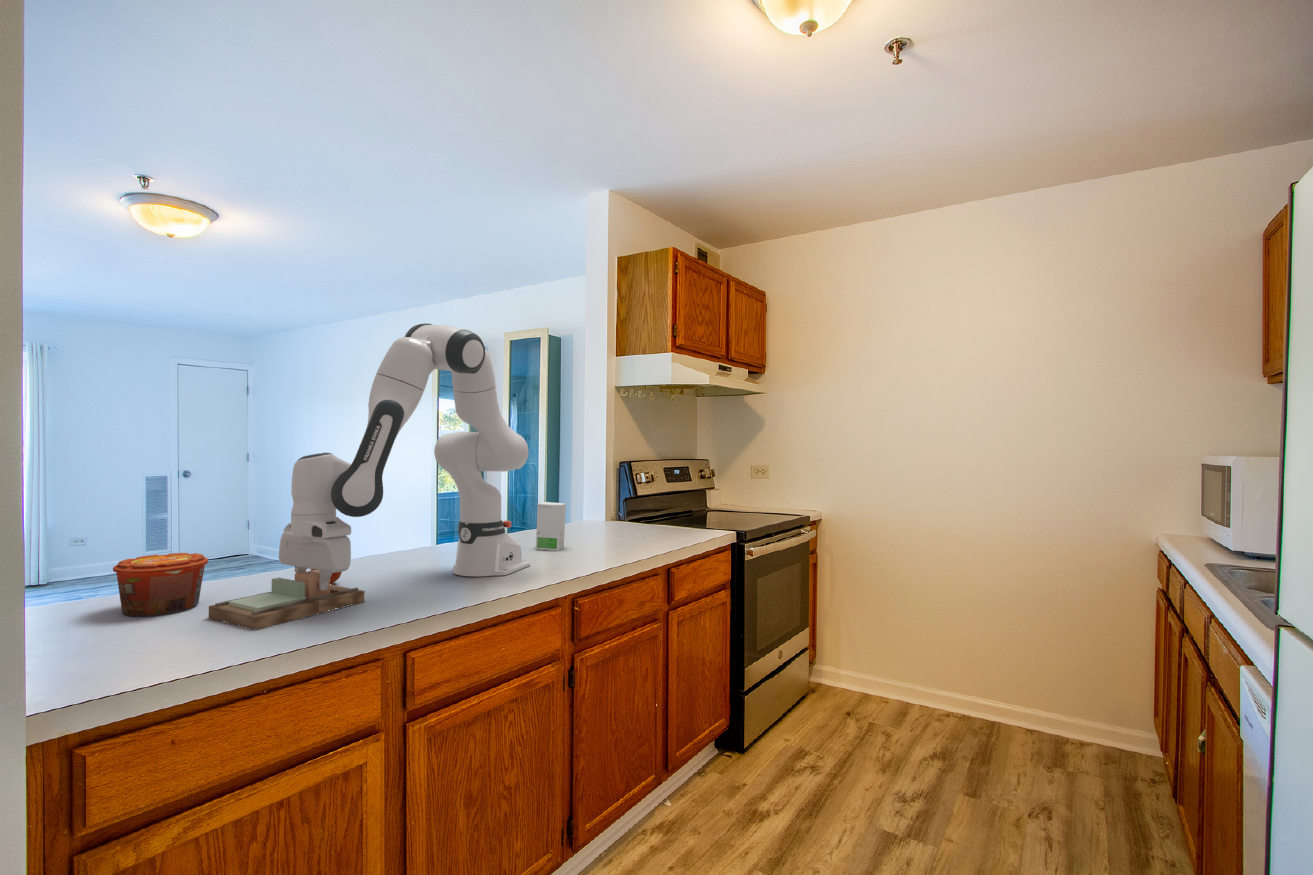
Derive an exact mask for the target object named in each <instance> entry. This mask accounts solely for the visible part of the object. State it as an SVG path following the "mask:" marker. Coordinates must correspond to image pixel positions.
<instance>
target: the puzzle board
mask: <svg viewBox="0 0 1313 875" xmlns="http://www.w3.org/2000/svg"><path fill="white" fill-rule="evenodd" d="M270 592H271V591H269V592H263V593H259V594H253V595H249V596H245V597H240V598H235V599H229V600H224V601H221V602H215V603H214V604H212V605H208V619H209V618H210V619H209V620H213V621H218V622H221V621H225V622H228V623H227V624H229V623H230V624H229V625H233V624H234V625H233V626H237V625H240V626H243V627H242V628H244V627H247V628H246V629H248V628H250V629H249V630H252V629H258V630H261V628H262V629H265V627H266V628H269V627H268V626H270V627H273V626H272V625H274V626H277V625H280V624H284V623H288V621H289V622H292V621H297V620H299V619H300V618H301V619H303V618H302V617H304V618H306V617H305V616H308V617H311V615H312V616H315V615H314V614H316V615H318V614H317V613H320V612H324V613H327V612H329V611H328V610H331V611H333V610H332V609H335V608H339V609H342V608H341V607H343V606H347V605H351V604H354V605H358V604H361V602H362V603H365V590H363V589H362V590H361V589H359V587H352V588H351V587H346V586H340V585H334V584H331V585H330V594H326V595H322V596H317V597H313V598H309V599H305V600H300V601H296V602H292V603H288V604H283V605H279V606H275V607H270V608H266V609H262V610H258V611H251V610H247V609H243V608H238V607H234V606H230V605H229V601H233V600H237V599H242V598H247V597H252V596H256V595H261V594H266V593H270ZM351 606H352V605H351ZM347 607H348V606H347ZM343 608H344V607H343ZM335 610H336V609H335ZM326 611H327V612H326ZM320 614H321V613H320ZM296 619H297V620H296ZM301 619H300V620H301ZM225 622H224V623H225ZM240 626H239V627H240Z"/></svg>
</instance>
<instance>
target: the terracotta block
mask: <svg viewBox="0 0 1313 875" xmlns="http://www.w3.org/2000/svg"><path fill="white" fill-rule="evenodd" d="M320 577H321V575H319V570H312V571H311V570H308V571H307V570H306V572H302V573H297V574H296V573H294V580H295V581H300V582H305V597H306V599H309V598H313V597H317V596H322V595H326V594H330V579H329V581H328V589H327V590H323V591H321V590H317V582H319V580H320Z"/></svg>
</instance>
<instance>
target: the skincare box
mask: <svg viewBox="0 0 1313 875" xmlns="http://www.w3.org/2000/svg"><path fill="white" fill-rule="evenodd" d="M566 507H567V506H566V503H564V502H552V501H551V502H550V501H542V502H539V503H537V512H536V532H535V533H536V534H535V535H536V537H535V550H539V551H553V552H559V551H561V550H563V549H564V548H565V532H566V530H565V529H566V528H565V527H566V509H567V508H566Z"/></svg>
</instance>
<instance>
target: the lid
mask: <svg viewBox="0 0 1313 875" xmlns="http://www.w3.org/2000/svg"><path fill="white" fill-rule="evenodd" d="M269 592H270V593H267V592H265V593H266V594H262V593H260V594H261V595H258V594H255V595H256V596H253V595H251V596H252V597H248V596H246V597H247V598H243V597H241V598H242V599H239V598H236V599H237V600H234V599H232V600H233V601H229V600H228V601H229V605H230V606H234V607H238V608H243V609H247V610H251V611H258V610H262V609H266V608H270V607H275V606H279V605H283V604H288V603H292V602H296V601H300V600H305V599H306V597H305V582H300V581H295V579H289V578H285V577H284V578H283V577H275V578H271V591H269Z"/></svg>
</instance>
